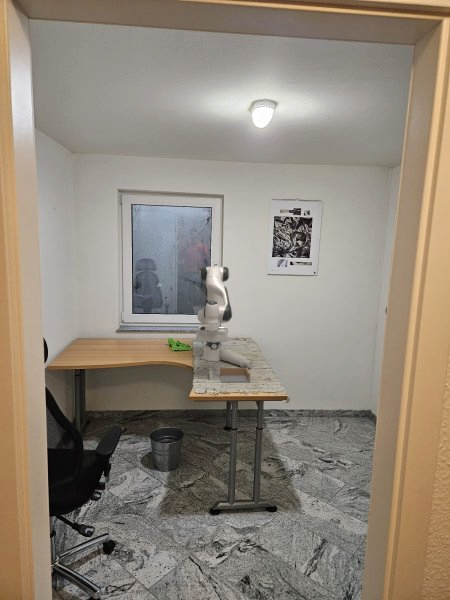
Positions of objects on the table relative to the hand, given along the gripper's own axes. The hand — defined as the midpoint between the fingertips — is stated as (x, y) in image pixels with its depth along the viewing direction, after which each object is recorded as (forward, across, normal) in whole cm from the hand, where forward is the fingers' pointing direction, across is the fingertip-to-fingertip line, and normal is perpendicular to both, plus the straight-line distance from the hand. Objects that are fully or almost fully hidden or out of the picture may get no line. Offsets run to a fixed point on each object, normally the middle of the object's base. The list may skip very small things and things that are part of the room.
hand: (211, 348), depth 231 cm
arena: (+19, -15, +2) cm, 25 cm away
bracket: (+20, -1, 0) cm, 20 cm away
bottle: (+19, -20, -31) cm, 41 cm away
